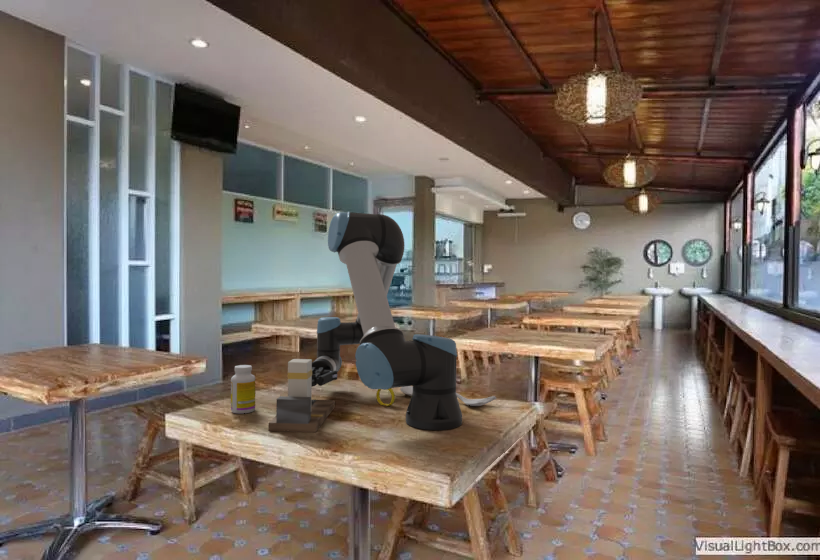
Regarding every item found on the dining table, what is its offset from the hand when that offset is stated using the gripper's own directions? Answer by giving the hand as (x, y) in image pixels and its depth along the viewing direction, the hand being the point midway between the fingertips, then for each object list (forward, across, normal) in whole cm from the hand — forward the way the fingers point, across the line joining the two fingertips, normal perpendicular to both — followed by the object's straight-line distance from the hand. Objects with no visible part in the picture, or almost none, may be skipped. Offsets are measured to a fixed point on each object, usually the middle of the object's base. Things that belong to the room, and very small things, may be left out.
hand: (302, 386), depth 140 cm
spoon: (-25, -38, -10) cm, 47 cm away
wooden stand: (-2, 0, -9) cm, 9 cm away
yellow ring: (-18, -21, -9) cm, 29 cm away
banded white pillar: (+3, 0, -6) cm, 7 cm away
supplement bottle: (-7, +19, -9) cm, 22 cm away
